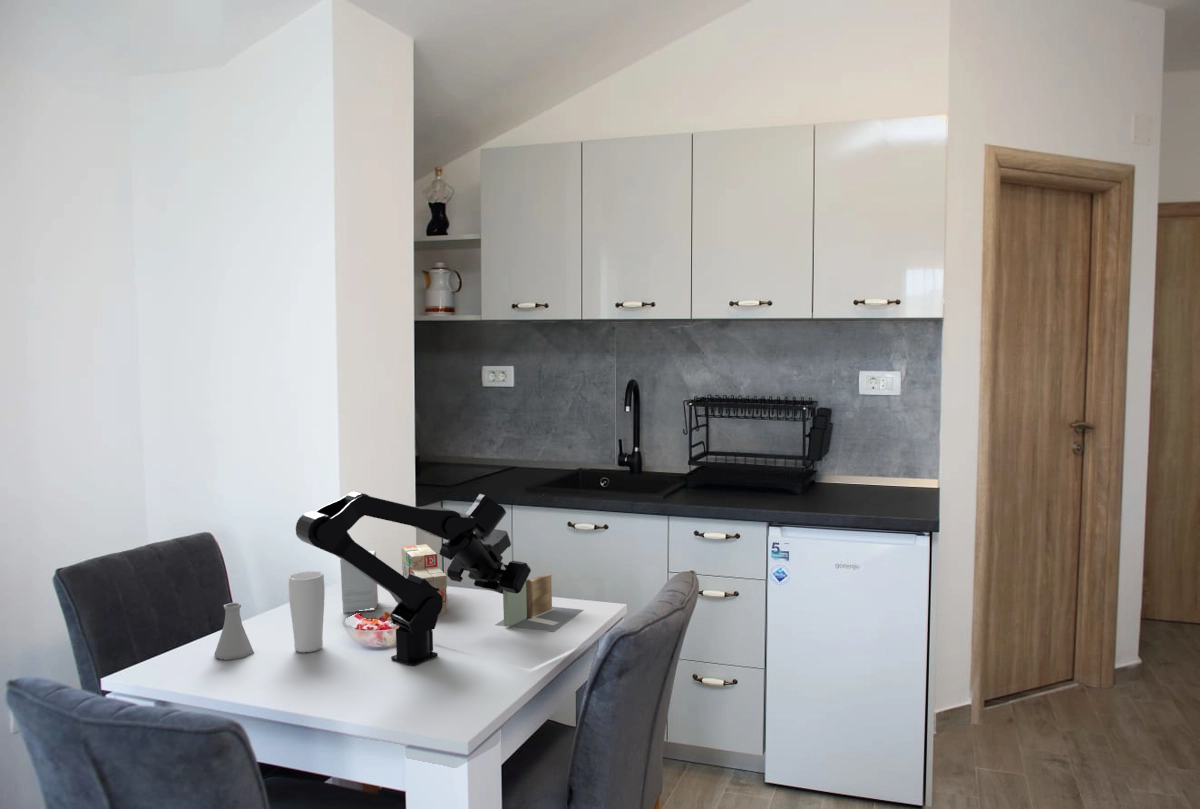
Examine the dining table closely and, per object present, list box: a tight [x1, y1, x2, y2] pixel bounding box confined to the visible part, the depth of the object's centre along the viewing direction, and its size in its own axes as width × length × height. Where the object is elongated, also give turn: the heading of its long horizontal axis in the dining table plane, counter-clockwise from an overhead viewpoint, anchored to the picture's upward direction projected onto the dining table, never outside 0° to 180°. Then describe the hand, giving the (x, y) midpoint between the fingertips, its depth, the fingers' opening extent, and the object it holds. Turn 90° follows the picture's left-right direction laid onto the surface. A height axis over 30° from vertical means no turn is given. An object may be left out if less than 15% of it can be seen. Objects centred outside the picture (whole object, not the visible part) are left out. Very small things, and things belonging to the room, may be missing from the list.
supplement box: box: [339, 550, 379, 614], centre depth 197 cm, size 7×7×13 cm
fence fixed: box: [526, 573, 553, 619], centre depth 188 cm, size 9×2×8 cm, turn 144°
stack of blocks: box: [400, 544, 448, 616], centre depth 198 cm, size 21×6×12 cm, turn 23°
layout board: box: [495, 606, 584, 633], centre depth 186 cm, size 16×14×1 cm
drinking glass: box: [287, 570, 326, 654], centre depth 169 cm, size 7×7×15 cm
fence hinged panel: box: [502, 582, 527, 628], centre depth 182 cm, size 7×1×8 cm, turn 150°
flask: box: [214, 602, 255, 661], centre depth 167 cm, size 7×7×10 cm
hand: (505, 592), depth 182 cm, fingers closed
